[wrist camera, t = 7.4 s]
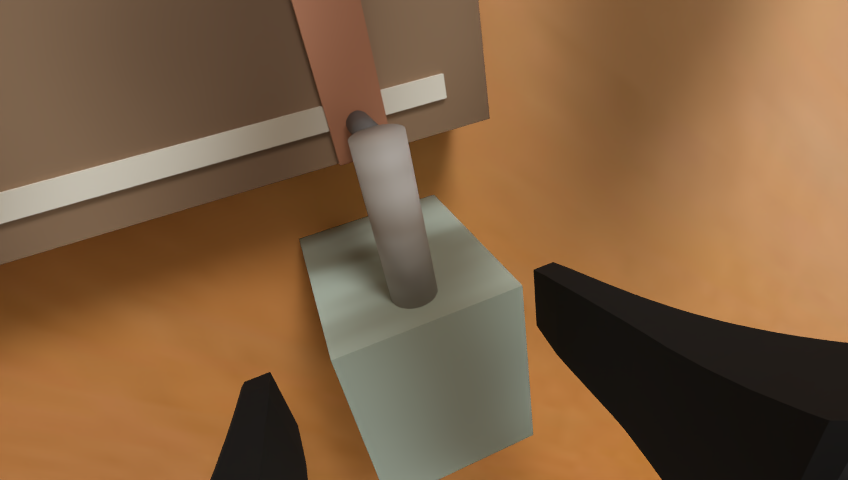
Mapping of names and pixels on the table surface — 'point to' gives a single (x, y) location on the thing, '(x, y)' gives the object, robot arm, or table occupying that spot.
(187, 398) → the table surface
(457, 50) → the walnut plank
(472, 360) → the grey block with peg
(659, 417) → the robot arm
